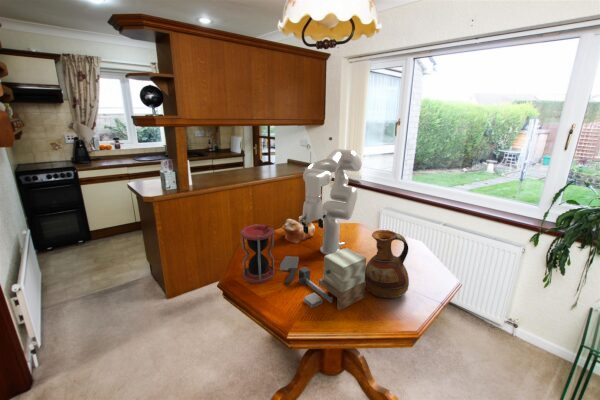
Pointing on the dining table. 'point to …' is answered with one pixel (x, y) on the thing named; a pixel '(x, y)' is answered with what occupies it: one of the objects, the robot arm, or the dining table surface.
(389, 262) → the ceramic pitcher
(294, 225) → the tan rock
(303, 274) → the hammer
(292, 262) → the cleaver
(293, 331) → the dining table surface
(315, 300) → the rectangular block
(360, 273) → the cabinet
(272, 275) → the hourglass
